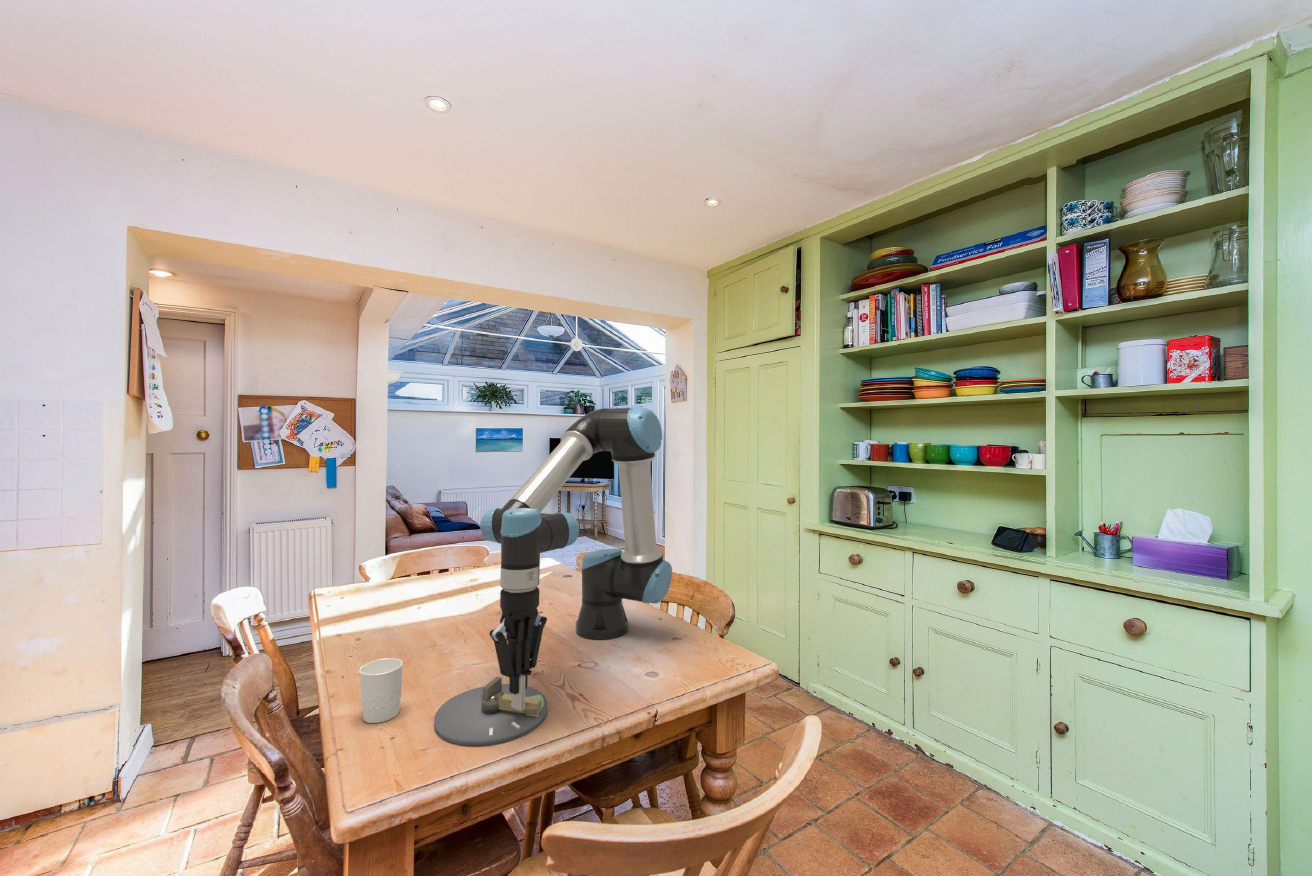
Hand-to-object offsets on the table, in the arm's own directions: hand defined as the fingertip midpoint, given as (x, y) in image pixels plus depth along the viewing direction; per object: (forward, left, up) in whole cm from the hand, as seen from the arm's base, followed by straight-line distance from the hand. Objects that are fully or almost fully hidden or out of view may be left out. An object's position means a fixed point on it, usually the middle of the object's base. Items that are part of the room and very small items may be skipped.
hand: (518, 708), depth 107 cm
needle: (-3, 0, -2) cm, 4 cm away
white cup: (-23, -18, -4) cm, 29 cm away
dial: (-7, -2, -3) cm, 8 cm away
